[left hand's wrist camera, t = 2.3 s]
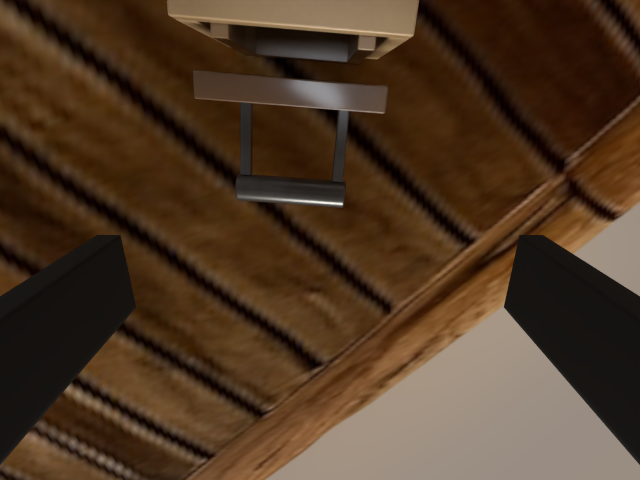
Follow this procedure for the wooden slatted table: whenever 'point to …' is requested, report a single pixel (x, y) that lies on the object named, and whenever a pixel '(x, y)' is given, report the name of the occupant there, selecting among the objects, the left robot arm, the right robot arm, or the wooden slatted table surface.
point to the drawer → (291, 102)
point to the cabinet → (307, 17)
